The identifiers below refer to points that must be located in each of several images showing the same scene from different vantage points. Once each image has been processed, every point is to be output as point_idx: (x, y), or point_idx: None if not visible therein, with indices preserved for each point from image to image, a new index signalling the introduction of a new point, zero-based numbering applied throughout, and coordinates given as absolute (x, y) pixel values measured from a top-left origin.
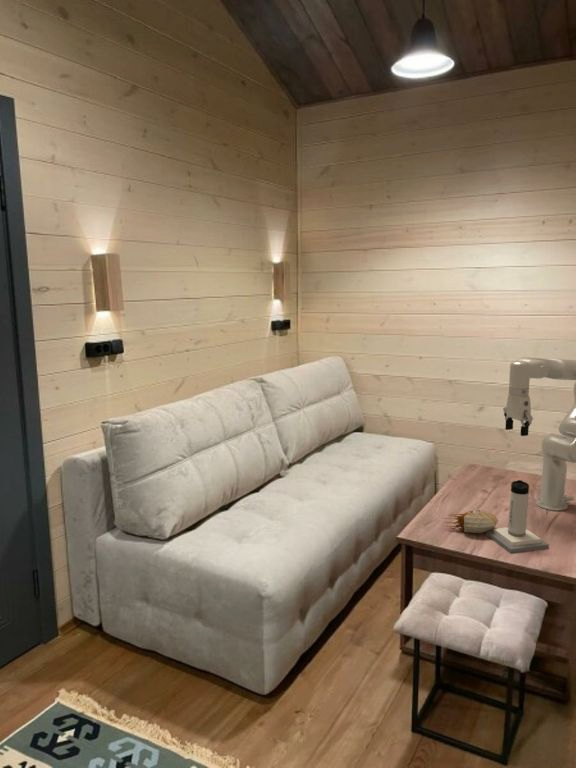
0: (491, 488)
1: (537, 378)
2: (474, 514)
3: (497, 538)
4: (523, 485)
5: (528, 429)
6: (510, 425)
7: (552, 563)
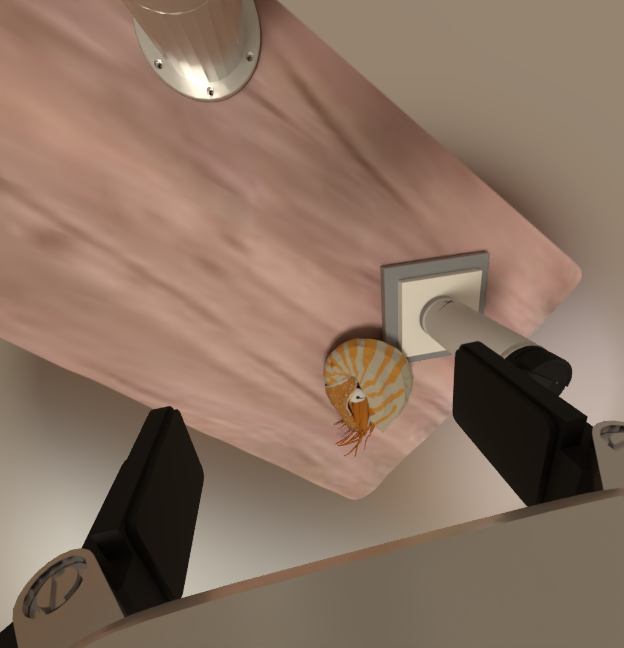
0: (11, 198)
1: None
2: (386, 412)
3: (428, 356)
4: (547, 374)
5: (531, 378)
6: (175, 479)
7: (539, 281)
